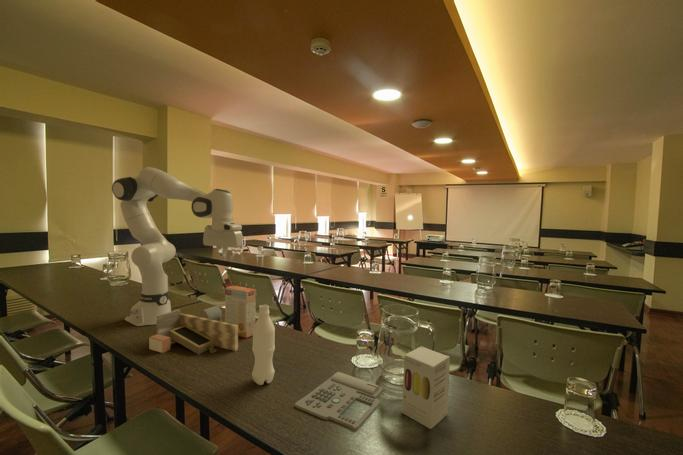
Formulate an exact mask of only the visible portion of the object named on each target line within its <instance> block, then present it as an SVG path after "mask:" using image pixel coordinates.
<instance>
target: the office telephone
mask: <svg viewBox="0 0 683 455" xmlns="http://www.w3.org/2000/svg"><path fill="white" fill-rule="evenodd" d="M383 391H384V388H383V387H382V386H380V385H378V384H375V383H373V382H369V381H366V380H364V379H361V378H359V377H356V376H354V375H353V376H352V375H349V374H347V373H344V372H341V371H337V372H335V373H334V374H333V375H332V376H330V377H329V378H328V379H326V380H325V381H324V382H323V383H321V384H319V385H318V386H317V387H316V388H314V389H313V390H312V391H310V392H309V393H308V394H306V395H305V396H304V397H301V398H300V399H299V400H297V401H296V402H295V403H294V407H295V408H296V409H298V410H301V411H303V412H306V413H308V414H310V415H313V416H315V417H318V418H319V419H322V420H324V421H325V420H326V421H327V420H330V421H333V422H335V423H338V424H340V425H343V426H345V427H347V428H350V429H351V430H353V431H358V430H359V429H360V428H361V427H362V426H363V425H364V423H365V422H366V421H367V420H368V419H369V418H370V417H371V416H372V414H373V413H374V412H375V411H376V410H377V408H379V407H380V404H381V400H378V399H377V398H378V397H379V396H380V395H381V394H382V392H383ZM355 401H359V402H362V403H365V404H367V405H370V407H369V408H368V409H367V410H366V411H365V412H364V414H362V416H361V417H360V418H359V419H358V420H354V419H353V418H349V417H348V416H344V415H343V414H344V413H345V411H347V409H349V408H350V407H351V406H352V404H354V403H355Z"/></svg>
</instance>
